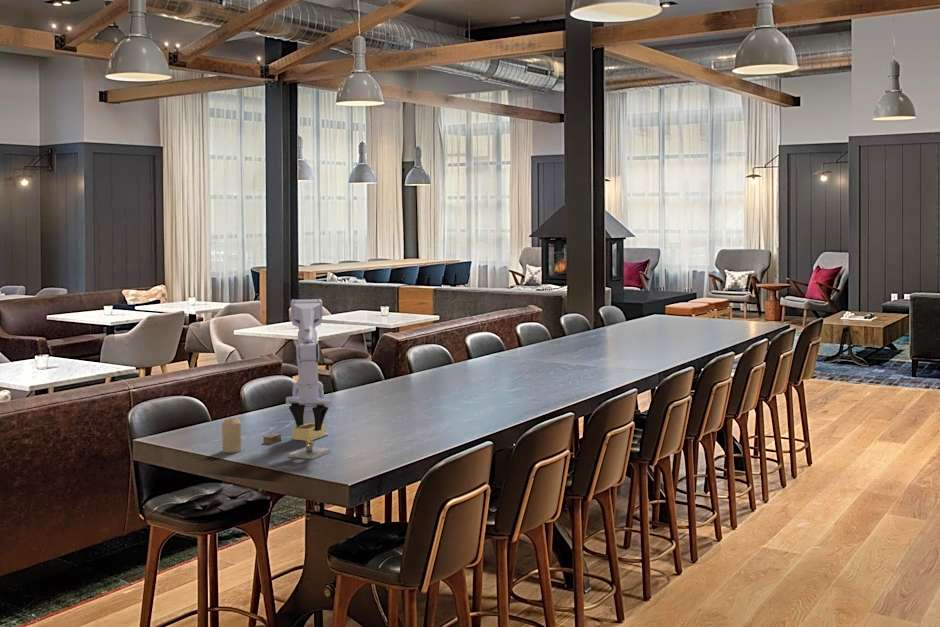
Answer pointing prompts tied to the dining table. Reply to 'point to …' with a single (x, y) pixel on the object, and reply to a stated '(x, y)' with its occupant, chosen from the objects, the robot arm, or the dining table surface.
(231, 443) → the candle
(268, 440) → the tan rectangular block
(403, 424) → the dining table surface
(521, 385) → the dining table surface
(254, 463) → the dining table surface
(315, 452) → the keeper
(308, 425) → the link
